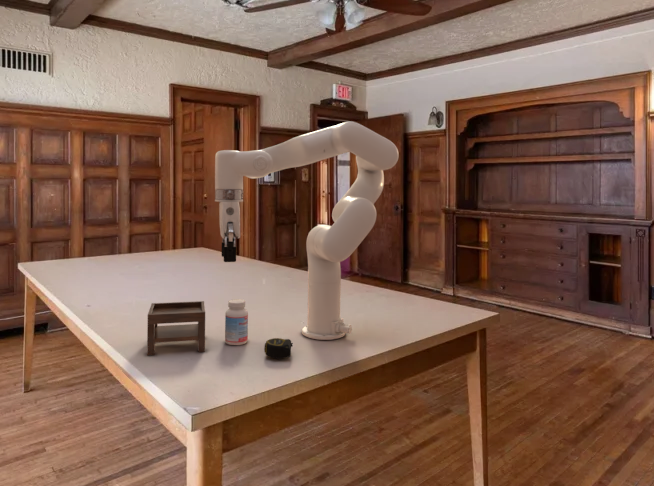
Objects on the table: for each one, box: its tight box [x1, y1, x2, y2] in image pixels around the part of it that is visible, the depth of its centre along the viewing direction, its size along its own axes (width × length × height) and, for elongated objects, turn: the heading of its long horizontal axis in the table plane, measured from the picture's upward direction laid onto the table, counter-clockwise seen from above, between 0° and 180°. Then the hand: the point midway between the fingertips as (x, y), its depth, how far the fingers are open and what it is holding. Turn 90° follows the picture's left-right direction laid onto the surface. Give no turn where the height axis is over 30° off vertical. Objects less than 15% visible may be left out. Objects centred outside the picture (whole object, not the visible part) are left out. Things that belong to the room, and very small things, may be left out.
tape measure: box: [263, 337, 294, 360], centre depth 116 cm, size 7×7×4 cm
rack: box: [146, 300, 206, 356], centre depth 122 cm, size 14×12×10 cm
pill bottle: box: [224, 298, 249, 346], centre depth 126 cm, size 6×6×11 cm
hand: (228, 259), depth 126 cm, fingers open, 9 cm apart
